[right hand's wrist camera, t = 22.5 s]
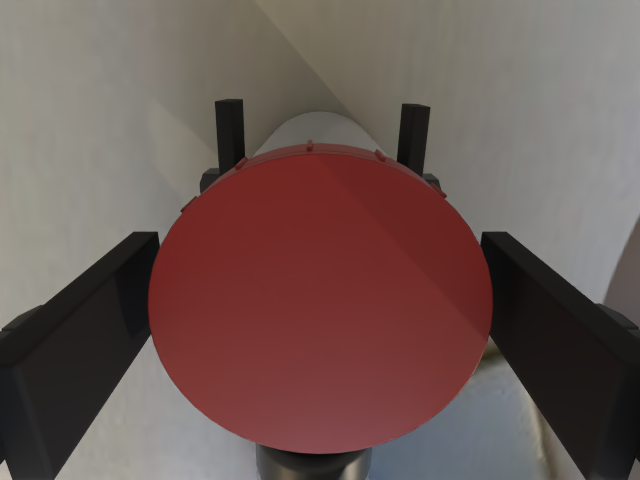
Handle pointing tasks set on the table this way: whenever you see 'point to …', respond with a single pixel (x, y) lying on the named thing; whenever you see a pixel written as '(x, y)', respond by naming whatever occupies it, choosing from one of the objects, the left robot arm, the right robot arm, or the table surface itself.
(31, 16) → the table surface
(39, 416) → the right robot arm
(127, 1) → the table surface
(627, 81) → the table surface
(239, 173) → the lid
